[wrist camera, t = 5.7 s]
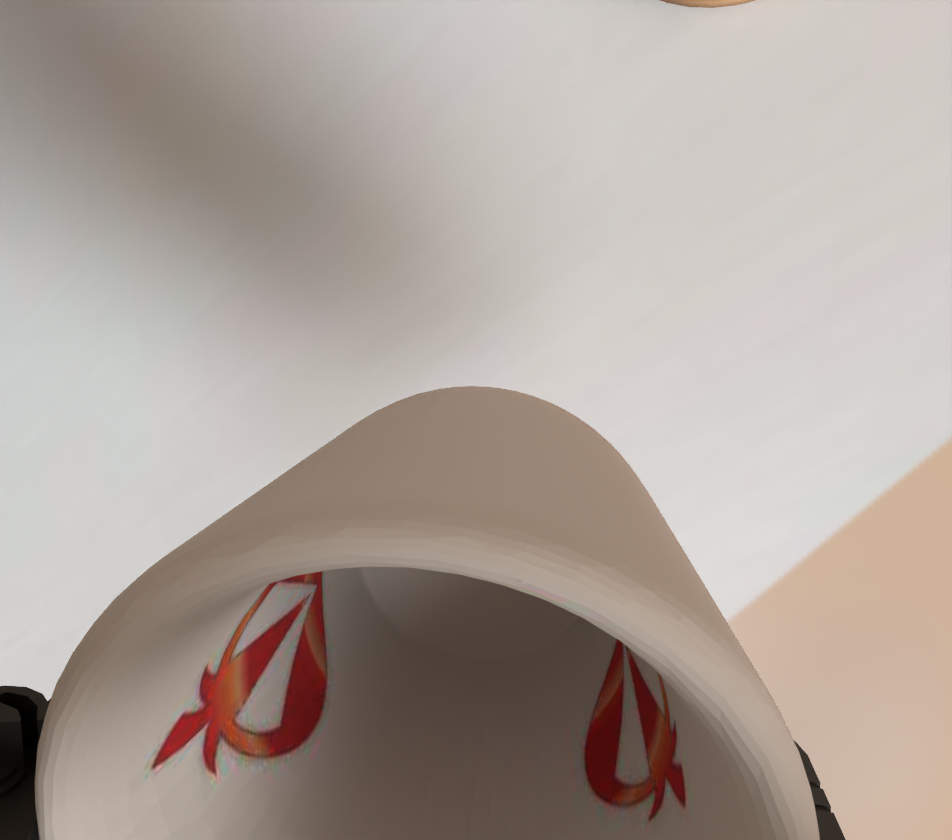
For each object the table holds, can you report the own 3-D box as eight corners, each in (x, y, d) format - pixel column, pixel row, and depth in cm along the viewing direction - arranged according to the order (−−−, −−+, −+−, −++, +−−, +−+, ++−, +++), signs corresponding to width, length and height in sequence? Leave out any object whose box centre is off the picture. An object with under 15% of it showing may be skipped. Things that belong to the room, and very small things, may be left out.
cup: (627, 820, 16) (688, 1356, 9) (287, 767, 17) (73, 1226, 9) (720, 361, 13) (944, 590, 6) (294, 313, 14) (-27, 462, 6)
